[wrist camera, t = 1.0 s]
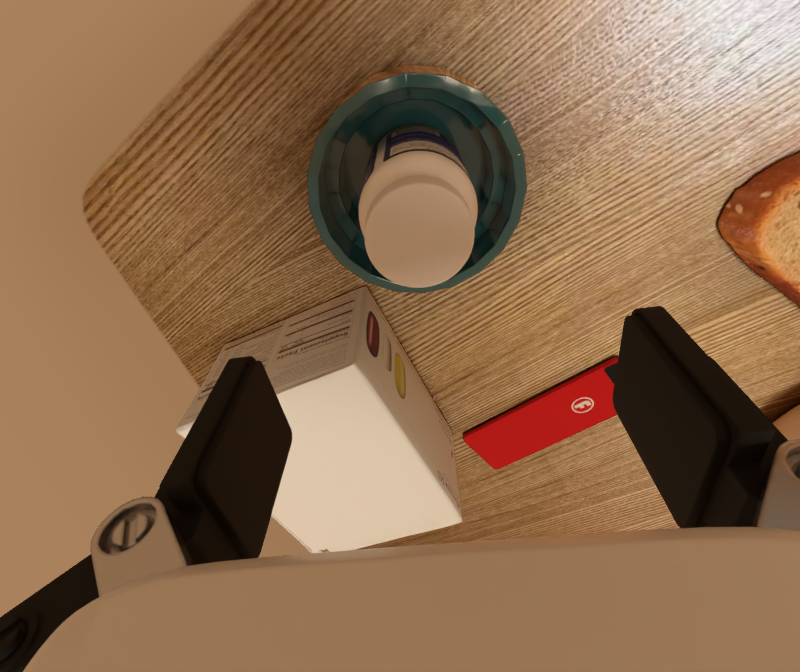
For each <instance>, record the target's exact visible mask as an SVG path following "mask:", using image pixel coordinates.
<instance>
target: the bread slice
mask: <svg viewBox="0 0 800 672" xmlns="http://www.w3.org/2000/svg"><path fill="white" fill-rule="evenodd" d="M718 227H719V230H720V232H721V234H722V236H723V238H724V240H725V241H727V242H728V243H729V244H730V245H731V246H732V248H733V249H734V251H735V252H736V253H737V254H738V255H739V256H740V257H741V258H742V260H743V261H744V262H745V263H746V264H747V265H748V266H749V267H750V268H751V269H753V270H754V271H755V272H756V273H757V274H758V275H760V276H761V277H762V278H763V279H764V280H766V281H767V282H769V283H771V284H772V285H774V286H775V287H776V288H777V289H779V290H780V291H781V292H782V293H784V294H785V295H786V296H787V297H788V298H790V299H791V300H792V301H793V302H795V303H796V304H797V305H799V306H800V153H798V154H796V155H794V156H792V157H789V158H787V159H784V160H782V161H780V162H778V163H777V164H775V165H773V166H771V167H770V168H768V169H766V170H765V171H763V172H761V173H760V174H758V175H757V176H755V177H754V178H753V179H752V180H751V181H750V182H748V183H747V184H746V185H745V186H743V187H742V188H739V189H737V190H736V192H735V193H734V195H733V197H732V198H731V199H730V201H729V202H728V203H727V205H726V206H725V208H724V210H723V212H722V214H721V216H720V219H719V222H718Z"/></svg>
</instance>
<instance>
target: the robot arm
mask: <svg viewBox="0 0 800 672" xmlns="http://www.w3.org/2000/svg"><path fill="white" fill-rule="evenodd" d="M612 398H613V405H614V408H615V411H616V413H617V414H618V416H619V418H620V420H621V422H622V424H623V426H624V427H625V429H626V431H627V433H628V435H629V437H630V438H631V440H632V442H633V444H634V446H635V448H636V449H637V451H638V453H639V455H640V457H641V459H642V461H643V462H644V464H645V466H646V468H647V470H648V472H649V473H650V475H651V477H652V479H653V481H654V483H655V485H656V486H657V488H658V490H659V492H660V494H661V496H662V497H663V499H664V501H665V503H666V505H667V507H668V508H669V510H670V512H671V514H672V516H673V518H674V520H675V521H676V523H677V524H678V526H679V527H680V528H679V529H659V530H639V531H621V532H606V533H591V534H576V535H561V536H546V537H530V538H515V539H501V540H487V541H473V542H458V543H444V544H430V545H416V546H402V547H389V548H375V549H362V550H349V551H336V552H323V553H310V554H297V555H284V556H273V557H262V558H258V556H259V555H260V552H261V549H262V545H263V542H264V538H265V535H266V532H267V528H268V524H269V521H270V517H271V514H272V510H273V507H274V503H275V500H276V496H277V493H278V489H279V486H280V482H281V479H282V475H283V472H284V468H285V465H286V461H287V458H288V454H289V451H290V447H291V443H292V430H291V428H290V425H289V423H288V421H287V418H286V416H285V414H284V411H283V409H282V407H281V405H280V402H279V400H278V398H277V395H276V393H275V391H274V388H273V386H272V384H271V382H270V379H269V377H268V375H267V372H266V370H265V368H264V366H263V364H262V362H261V361H259V360H258V361H256V360H255V358H254V357H252V356H246V357H238V358H231V359H229V360H228V362H227V363H226V365H225V367H224V369H223V371H222V372H221V374H220V376H219V378H218V380H217V382H216V383H215V385H214V387H213V389H212V391H211V393H210V394H209V396H208V398H207V400H206V402H205V403H204V405H203V407H202V409H201V411H200V413H199V414H198V416H197V418H196V420H195V422H194V424H193V425H192V427H191V429H190V431H189V433H188V435H187V436H186V438H185V440H184V442H183V444H182V446H181V447H180V449H179V451H178V453H177V455H176V456H175V458H174V460H173V462H172V464H171V466H170V467H169V469H168V471H167V473H166V475H165V477H164V479H163V480H162V482H161V484H160V488H159V490H158V492H157V494H156V496H155V497H141V498H137V499H133V500H131V501H129V502H127V503H125V504H123V505H121V506H120V507H119V508H117V509H116V510H114V511H113V512H112V513H111V514H110V515H108V516H107V517H106V518H105V520H104V521H102V523H101V524H100V526H99V527H98V528H97V530H96V531H95V533H94V536H93V538H92V541H91V555H89V556H88V557H86V558H85V559H83V560H82V561H81V562H79V563H78V564H77V565H75V566H73V567H72V568H70V569H69V570H68V571H66V572H65V573H64V574H62V575H60V576H59V577H58V578H56V579H55V580H54V581H52V582H51V583H49V584H48V585H46V586H45V587H43V588H42V589H40V590H39V591H38V592H36V593H35V594H33V595H32V596H30V597H29V598H28V599H26V600H25V601H23V602H22V603H20V604H19V605H17V606H16V607H15V608H13V609H12V610H10V611H9V612H7V613H6V614H4V615H3V616H2V617H1V618H0V672H800V439H794V440H789V441H788V440H787V438H786V437H785V436H784V435H783V434H782V433H781V432H780V431H779V430H778V429H777V428H776V427H775V426H774V424H773V423H772V422H771V421H770V420H769V419H768V418H767V417H766V416H765V415H764V414H763V413H762V411H761V410H760V409H759V408H758V407H757V406H756V405H755V404H754V403H753V402H752V401H751V400H750V398H749V397H748V396H747V395H746V394H745V393H744V392H743V391H742V390H741V389H740V388H739V387H738V385H737V384H736V383H735V382H734V381H733V380H732V379H731V378H730V377H729V376H728V375H727V374H726V372H725V371H724V370H723V369H722V368H721V367H720V366H719V365H718V364H717V363H716V362H715V361H714V360H713V359H712V358H711V357H709V356H707V354H706V353H705V352H704V351H703V350H702V349H701V348H700V347H699V346H698V345H697V344H696V342H695V341H694V340H693V339H692V338H691V337H690V336H689V335H688V334H687V333H686V332H685V330H684V329H683V328H682V327H681V326H680V325H679V324H678V323H677V322H676V321H675V320H674V318H673V317H672V316H671V315H670V314H669V313H668V312H667V311H666V310H665V309H664V308H663V307H661V306H656V307H648V308H639V309H635V310H634V311H633V312H632V315H631V316H627V317H626V318H625V321H624V327H623V333H622V339H621V346H620V352H619V358H618V364H617V371H616V377H615V383H614V390H613V397H612Z"/></svg>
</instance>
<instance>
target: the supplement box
mask: <svg viewBox="0 0 800 672" xmlns="http://www.w3.org/2000/svg"><path fill="white" fill-rule="evenodd" d="M246 356H252V357H254V358H255V360H256V361H258V360H259V361H261V362H262V364H263V366H264V368H265V370H266V372H267V375H268V377H269V379H270V382H271V384H272V386H273V388H274V391H275V393H276V395H277V398H278V400H279V402H280V405H281V407H282V409H283V411H284V414H285V416H286V418H287V421H288V423H289V425H290V428H291V430H292V443H291V447H290V451H289V454H288V458H287V461H286V465H285V468H284V472H283V475H282V479H281V482H280V486H279V489H278V493H277V496H276V500H275V503H274V507H273V510H272V514H271V516H272V517H273V518H274V519H276V521H278V522H279V523H280V524H281V525H282V526H283V527H285V529H286V530H288V531H289V532H290V533H291V534H292V535H293V536H294V537H295V538H297V539H298V540H299V541H300V542H301V543H302V544H303V545H304V546H305V547H306V548H307V549H308V550H309V551H310V552H311V553H323V552H336V551H349V550H355V549H359V548H362V547H366V546H370V545H374V544H378V543H382V542H386V541H390V540H394V539H397V538H401V537H405V536H409V535H414V534H418V533H422V532H427V531H431V530H435V529H439V528H443V527H447V526H450V525H454V524H457V523H461V522H462V515H461V508H460V500H459V491H458V482H457V474H456V465H455V457H454V448H453V439H452V431H451V429H450V428H449V426H448V424H447V422H446V421H445V419H444V417H443V416H442V414H441V412H440V411H439V409H438V407H437V406H436V404H435V402H434V401H433V399H432V397H431V395H430V394H429V392H428V390H427V389H426V387H425V385H424V383H423V382H422V380H421V378H420V377H419V375H418V373H417V371H416V370H415V368H414V366H413V365H412V363H411V361H410V359H409V358H408V356H407V354H406V353H405V351H404V349H403V347H402V346H401V344H400V342H399V341H398V339H397V337H396V336H395V334H394V332H393V330H392V329H391V327H390V325H389V324H388V322H387V320H386V318H385V317H384V315H383V313H382V312H381V310H380V308H379V307H378V305H377V303H376V302H375V300H374V298H373V297H372V295H371V293H370V291H369V290H368V288H367V287H366V286H364V287H361V288H359V289H356V290H354V291H352V292H349V293H347V294H344V295H342V296H340V297H337V298H335V299H333V300H330V301H328V302H325V303H323V304H321V305H318V306H316V307H313V308H311V309H309V310H306V311H304V312H302V313H299V314H297V315H295V316H292V317H290V318H287V319H285V320H283V321H280V322H278V323H276V324H273V325H271V326H269V327H266V328H264V329H262V330H259V331H257V332H254V333H252V334H250V335H247V336H245V337H243V338H240V339H238V340H235V341H233V342H230V343H227V344H225V345H224V346H223V348H222V349H221V351H220V353H219V355H218V357H217V359H216V361H215V363H214V365H213V366H212V368H211V370H210V372H209V373H208V375H207V377H206V379H205V380H204V382H203V384H202V386H201V388H200V390H199V391H198V393H197V395H196V396H195V398H194V400H193V401H192V403H191V405H190V407H189V408H188V410H187V412H186V413H185V415H184V417H183V419H182V420H181V422H180V423H179V425H178V427H177V429H176V432H177V433H178V434H179V435H181V436H182V437H183V438H184V439H185V438H186V436H187V435H188V433H189V431H190V429H191V427H192V425H193V424H194V422H195V420H196V418H197V416H198V414H199V413H200V411H201V409H202V407H203V405H204V403H205V402H206V400H207V398H208V396H209V394H210V393H211V391H212V389H213V387H214V385H215V383H216V382H217V380H218V378H219V376H220V374H221V372H222V371H223V369H224V367H225V365H226V363H227V362H228V360H229V359H231V358H238V357H246Z"/></svg>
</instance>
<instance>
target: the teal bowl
mask: <svg viewBox="0 0 800 672" xmlns="http://www.w3.org/2000/svg"><path fill="white" fill-rule="evenodd" d="M406 125H425V126H429V127H432V128H434V129H436V130H438V131H440V132H441V133H443V134H444V135H445V136H446V137H448V138H449V139H450V141H451V142H452V143H453V144H454V146H455V147H456V149H457V151H458V152H459V155H460V157H461V159H462V162H463V164H464V166H465V169H466V171H467V173H468V175H469V178H470V180H471V182H472V184H473V187H474V189H475V193H476V198H477V204H478V214H477V221H476V225H475V238H474V244H473V248H472V251H471V254H470V256H469V258H468V260H467V262H466V263H465V264H464V266H463V267H462V268H461V269H460V270H459V271H458V272H457V273H456V274H455V275H454V276H453V277H451V278H450V279H448V280H446V281H444V282H442V283H440V284H437V285H434V286H430V287H423V288H412V287H406V286H402V285H399V284H396V283H394V282H392V281H390V280H388V279H387V278H385V277H384V276H383V275H382V274H381V273H379V271H378V270H377V269H376V268H375V267H374V265H373V264H372V262H371V260H370V259H369V256H368V254H367V251H366V247H365V240H364V236H363V233H362V230H361V227H360V222H359V200H360V195H361V191H362V187H363V182H364V178H365V174H366V169H367V165H368V161H369V159H370V156H371V154H372V152H373V150H374V148H375V147H376V145H377V144H378V143H379V141H380V140H381V139H382V138H383V137H384V136H386V135H387V134H388V133H390V132H391V131H393V130H395V129H397V128H399V127H402V126H406ZM307 174H308V175H307V181H308V195H309V208H310V212H311V214H312V217H313V219H314V222H315V224H316V227H317V229H318V232H319V235H320V237H321V239H322V241H323V242H324V243H325V245H326V246H327V247H328V248H329V250H330V251H331V252H332V253H333V255H334V256H335V257H336V259H337V260H338V261H339V262H340V264H342V265H343V266H344V267H346V268H347V269H349V270H350V271H351V272H353V273H354V274H356V275H357V276H359V277H360V278H361V279H363V280H364V281H367V282H369V283H371V284H374V285H377V286H380V287H383V288H386V289H389V290H392V291H396V292H414V293H426V292H431V291H435V290H440V289H444V288H449V287H453V286H455V285H457V284H459V283H461V282H463V281H465V280H466V279H468V278H470V277H472V276H474V275H476V274H478V273H479V272H480V271H482V270H483V269H484V268H485V267H486V266H487V265H488V264H489V263H490V262H491V261H492V260H493V259H494V258H495V257H496V256H497V255H498V254H499V253H501V252H502V250H503V249H504V248H505V246H506V244H507V243H508V241H509V239H510V237H511V235H512V234H513V232H514V230H515V228H516V227H517V225H518V223H519V220H520V217H521V212H522V208H523V203H524V199H525V194H526V190H527V181H526V171H525V161H524V153H523V149H522V147H521V145H520V143H519V141H518V138H517V136H516V134H515V132H514V130H513V128H512V125H511V123H510V121H509V119H508V118H507V116H506V115H505V114H504V113H503V112H502V111H501V110H500V109H499V108H498V107H497V106H496V105H495V104H494V103H493V102H492V101H491V100H490V99H489V98H488V97H487V96H486V95H485V94H484V93H483V92H482V91H481V90H480V89H479V88H478V87H476V86H475V85H474V84H473V83H472V82H471V81H469V80H468V79H466V78H464V77H461V76H459V75H457V74H455V73H453V72H451V71H448V70H446V69H444V68H442V67H438V66H424V65H409V64H408V65H402V66H399V67H396V68H393V69H390V70H386V71H383V72H380V73H377V74H375V75H373V76H371V77H370V78H369V79H367V80H366V81H365V82H363V83H362V84H361V85H360V86H358V87H357V88H356V89H354V90H353V91H352V92H350V93H349V94H348V95H347V96H346V97H345V99H344V100H343V101H342V102H341V103H340V104H339V106H338V107H337V108H336V109H335V111H334V112H333V114H332V116H331V117H330V119H329V120H328V122H327V123H326V125H325V126H324V128H323V129H322V131H321V132H320V134H319V135H318V137H317V139H316V141H315V145H314V149H313V153H312V157H311V161H310V165H309V169H308V173H307Z"/></svg>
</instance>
